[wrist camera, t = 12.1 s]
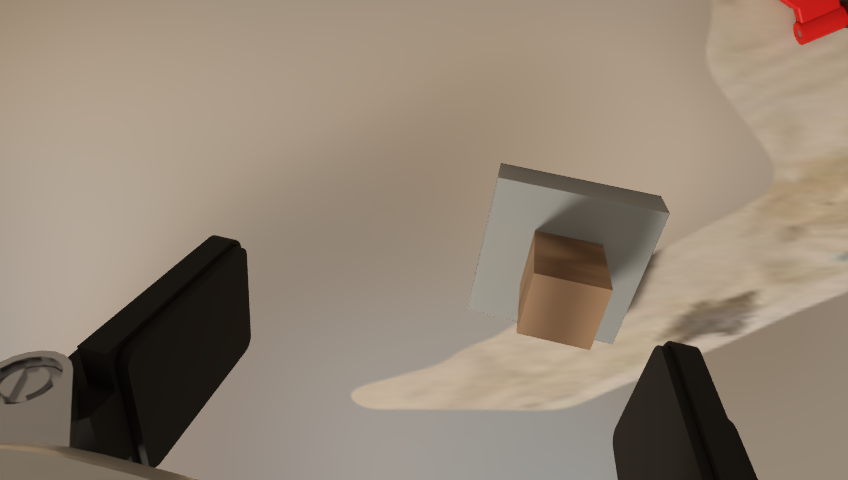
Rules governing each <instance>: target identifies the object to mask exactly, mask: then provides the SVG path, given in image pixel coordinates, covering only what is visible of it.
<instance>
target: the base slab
mask: <svg viewBox="0 0 848 480" xmlns="http://www.w3.org/2000/svg"><path fill="white" fill-rule="evenodd" d="M669 214H670V213H669V211H668V209H667V207H666V205H665V203H664V201H663V199H662V198H661V196H657V195H652V194H648V193H643V192H638V191H633V190H628V189H623V188H619V187H614V186H608V185H604V184H599V183H594V182H590V181H585V180H580V179H575V178H570V177H565V176H561V175H556V174H551V173H546V172H542V171H537V170H532V169H527V168H522V167H517V166H512V165H507V164H503V163H501V165H500V169H499V174H498V178H497V182H496V187H495V191H494V196H493V199H492V204H491V208H490V212H489V217H488V221H487V225H486V229H485V234H484V238H483V242H482V247H481V251H480V255H479V260H478V264H477V268H476V272H475V277H474V281H473V285H472V290H471V294H470V299H469V304H468V308H467V309H468V310H472V311H477V312H480V313H484V314H489V315H493V316H497V317H501V318H505V319H509V320H514V321H517V320H518V305H519V290H520V283H521V279H522V275H523V272H524V268H525V264H526V261H527V257H528V253H529V250H530V246H531V243H532V239H533V235H534V232H535V231H540V232H545V233H550V234H554V235H559V236H564V237H569V238H574V239H578V240H583V241H588V242H593V243H598V244H603V247H604V251H605V256H606V260H607V265H608V269H609V274H610V278H611V283H612V287H613V292H612V295H611V297H610V300H609V302H608V305H607V307H606V310H605V313H604V315H603V318H602V320H601V323H600V325H599V328H598V331H597V333H596V336H595V338H594V340H597V341H601V342H605V343H609V344H613V342H614V340H615V338H616V336H617V333H618V331H619V329H620V326H621V324H622V322H623V319H624V317H625V315H626V313H627V310H628V308H629V306H630V303H631V301H632V299H633V297H634V294H635V292H636V290H637V287H638V285H639V283H640V281H641V278H642V276H643V274H644V271H645V269H646V267H647V264H648V262H649V260H650V258H651V255H652V253H653V251H654V248H655V246H656V244H657V242H658V239H659V237H660V235H661V232H662V230H663V228H664V226H665V223H666V220H667V219H668V216H669Z"/></svg>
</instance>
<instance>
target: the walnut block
mask: <svg viewBox="0 0 848 480" xmlns="http://www.w3.org/2000/svg"><path fill="white" fill-rule="evenodd" d="M612 292H613V287H612V283H611V278H610V274H609V269H608V265H607V260H606V256H605V251H604V247H603V244H598V243H593V242H588V241H583V240H578V239H574V238H569V237H564V236H559V235H554V234H550V233H545V232H540V231H535V232H534V235H533V239H532V243H531V246H530V250H529V253H528V257H527V261H526V264H525V268H524V272H523V275H522V279H521V283H520V290H519V305H518V320H517V333H519V334H523V335H527V336H532V337H536V338H540V339H545V340H549V341H553V342H558V343H562V344H566V345H571V346H575V347H579V348H584V349H588V350H590V348H591V346H592V343H593V341H594V338H595V336H596V333H597V331H598V328H599V325H600V323H601V320H602V318H603V315H604V313H605V310H606V307H607V305H608V302H609V300H610V297H611V295H612Z"/></svg>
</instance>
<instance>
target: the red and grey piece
mask: <svg viewBox="0 0 848 480" xmlns="http://www.w3.org/2000/svg"><path fill="white" fill-rule="evenodd" d="M780 1H781V2H783V3H784V4H785V5H787V6H788V7H790V8H792V9H794V13H795V18H796V23H795V24H794V27H793V29H794V35H795V37H796V40H797V41H798V43H799V44H801V45H804V44H806V43H808V42H811V41H813V40H816V39H818V38H821V37H823V36H825V35H828V34H830V33H833V32H835V31H837V30H840V29H842V28H848V0H842V1H840V0H780Z"/></svg>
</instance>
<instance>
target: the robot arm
mask: <svg viewBox="0 0 848 480" xmlns="http://www.w3.org/2000/svg"><path fill="white" fill-rule="evenodd" d="M250 332H251V331H250V311H249V291H248V269H247V253H246V250H245V249H244V248H241V245H240V243H239V242H238V241H237V240H233V239H229V238H224V237H220V236H215V235H214V236H211V237H209V238H208V239H207V240H206V241H205V242H203V243H202V244H201V245H200V246H198V247H197V248H196V249H195V250H193V251H192V252H191V253H190V254H189V255H187V256H186V257H185V258H184V259H183V260H182V261H180V262H179V263H178V264H177V265H175V266H174V267H173V268H172V269H170V270H169V271H168V272H167V273H166V274H165V275H163V276H162V277H161V278H160V279H159V280H157V281H156V282H155V283H154V284H152V285H151V286H150V287H149V288H147V289H146V290H145V291H144V292H143V293H141V294H140V295H139V296H138V297H137V298H135V299H134V300H133V301H132V302H130V303H129V304H128V305H127V306H126V307H124V308H123V309H122V310H121V311H120V312H118V313H117V314H116V315H115V316H114V317H112V318H111V319H110V320H109V321H107V322H106V323H105V324H104V325H103V326H101V327H100V328H99V329H98V330H96V331H95V332H94V333H93V334H92V335H90V336H89V337H88V338H87V339H86V340H84V341H83V342H82V343H81V344H80V345H78V346H77V347H78V349H77V350H76V351H75V352H74V353H72V354H71V355H70V356H69V357H68V358H67V357H66V356H65V355H63V354H60V353H58V352H53V351H36V352H28V353H24V354H20V355H17V356H13V357H11V358H9V359H6V360H4V361H2V362H0V480H197V479H193V478H190V477H186V476H183V475H179V474H176V473H172V472H168V471H164V470H161V469H157V468H155V467H156V466H158V465H159V464H160V463H161V462H162V460H163V459H164V457H165V456H166V455H167V454H168V452H169V451H170V450H171V449H172V447H173V446H174V445H175V443H176V442H177V441H178V439H179V438H180V437H181V435H182V434H183V433H184V431H185V430H186V429H187V428H188V426H189V425H190V424H191V422H192V421H193V420H194V418H195V417H196V416H197V414H198V413H199V412H200V411H201V409H202V408H203V407H204V405H205V404H206V402H207V401H208V400H209V399H210V397H211V396H212V395H213V393H214V392H215V391H216V389H217V388H218V387H219V386H220V384H221V383H222V382H223V380H224V379H225V377H226V376H227V375H228V374H229V372H230V371H231V370H232V369H233V367H234V366H235V365H236V363H237V362H238V361H239V359H240V358H241V357H242V355H243V354H244V353H245V351H246V350H247V348H248V346H249V343H250V339H251V333H250ZM613 450H614V456H615V463H616V470H617V477H618V480H758V479H757V477H756V474H755V472H754V470H753V467H752V465H751V462H750V460H749V457H748V455H747V453H746V450H745V448H744V446H743V443H742V441H741V438H740V436H739V434H738V431H737V429H736V428H735V426H734V424H733V423H732V422H731V421H730V420H729V419H728V418H727V415H726V413H725V410H724V408H723V405H722V403H721V400H720V398H719V396H718V393H717V391H716V388H715V386H714V383H713V381H712V378H711V376H710V374H709V371H708V369H707V366H706V364H705V362H704V359H703V356H702V354H701V352H700V350H699V349H698V348H697V347H694V346H689V345H685V344H681V343H676V342H672V341H668V342H666V343H665V344H664V346H659V345H658V346H656V347H655V348H654V350H653V352H652V354H651V356H650V358H649V360H648V362H647V364H646V366H645V368H644V370H643V372H642V374H641V376H640V378H639V381H638V383H637V385H636V387H635V389H634V391H633V393H632V395H631V397H630V399H629V401H628V403H627V405H626V407H625V409H624V411H623V413H622V416H621V418H620V420H619V422H618V424H617V426H616V428H615V431H614V435H613Z"/></svg>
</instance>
